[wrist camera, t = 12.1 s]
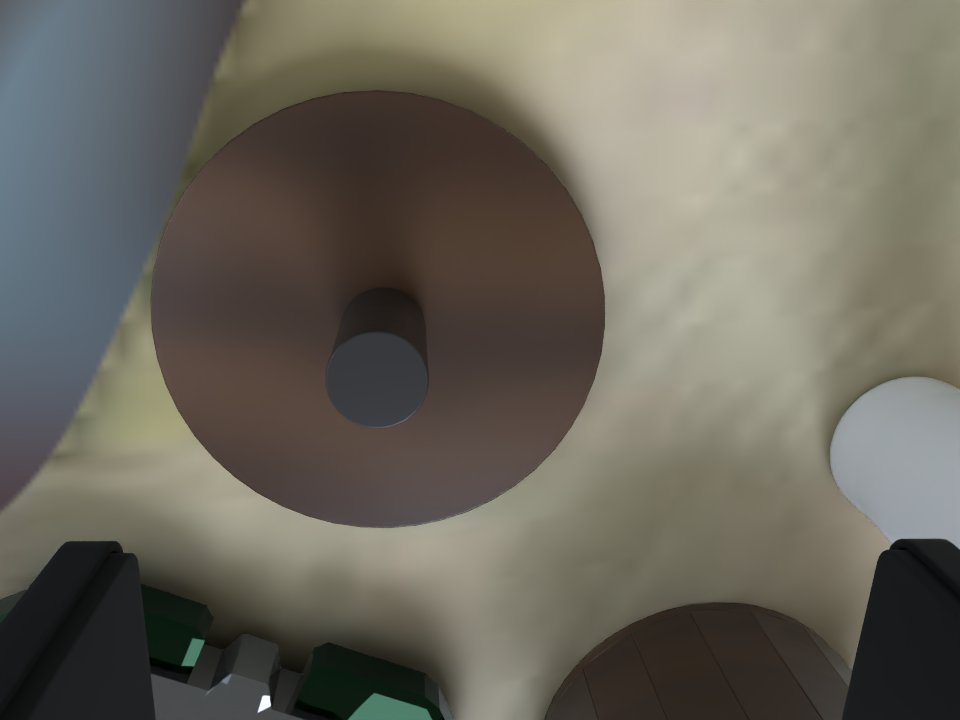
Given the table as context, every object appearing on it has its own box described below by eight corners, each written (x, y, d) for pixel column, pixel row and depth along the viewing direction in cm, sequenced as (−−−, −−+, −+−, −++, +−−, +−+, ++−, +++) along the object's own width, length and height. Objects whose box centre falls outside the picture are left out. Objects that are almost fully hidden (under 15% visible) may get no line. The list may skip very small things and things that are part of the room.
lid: (137, 87, 23) (44, 82, 17) (609, 94, 24) (673, 91, 19) (184, 517, 28) (123, 629, 22) (586, 505, 29) (631, 609, 23)
